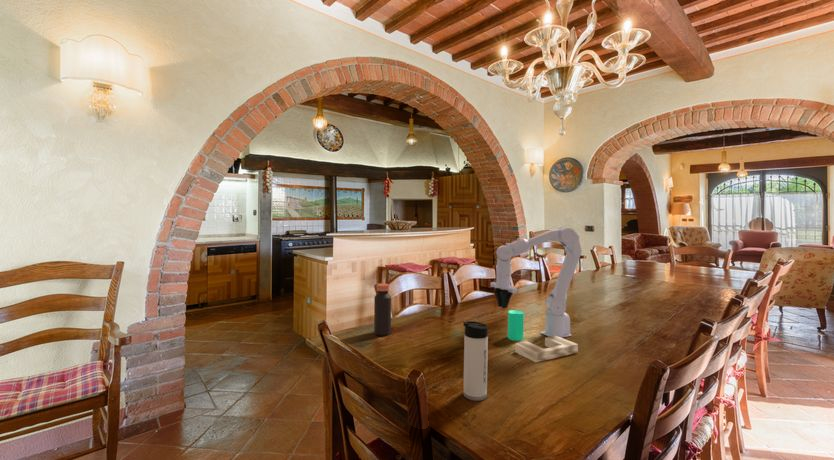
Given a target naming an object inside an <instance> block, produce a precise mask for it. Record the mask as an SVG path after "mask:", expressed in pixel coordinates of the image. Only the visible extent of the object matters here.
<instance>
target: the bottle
mask: <svg viewBox="0 0 834 460" xmlns="http://www.w3.org/2000/svg"><path fill="white" fill-rule="evenodd" d="M389 290H390V285H389V284H388V283H377V284H376V295H375V296H374V299H373V300H374V307H373V308H374V312H373V313H374V315H373V317H374V320H373V321H374V322H373V323H374V324H373V325H374V327H373V329H374V330H373V331H374V332H373V333H374V335H376V336H378V337H379V336H380V337H382V336H384V337H385V336H389V335H390V334H391V332H392V327H391V326H392V296H391V295H390V293H389Z"/></svg>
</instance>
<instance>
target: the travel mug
mask: <svg viewBox="0 0 834 460" xmlns="http://www.w3.org/2000/svg"><path fill="white" fill-rule="evenodd" d="M462 325H463V327H464V334H463V335H464V336H463V337H464V339H463V340H464V341H463V342H464V343H463V344H464V345H463V347H464V349H463V396H464V397H465V398H466V399H468V400H470V401H475V402H477V401H478V402H479V401H483V400H485V399H486V398H487V396H488V393H487V392H488V355H489V354H488V353H489V351H488V350H489V347H488V346H489V345H488V344H489V333H488V332H489V327H488V326H487V325H486V324H484V323H483V322H479V321H472V320H468V321H463V324H462Z"/></svg>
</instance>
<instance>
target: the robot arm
mask: <svg viewBox="0 0 834 460" xmlns="http://www.w3.org/2000/svg"><path fill="white" fill-rule="evenodd" d="M550 241H552V242H559V243H560V244H561V245H562V247H563V248H564V249H565V251H566V254H565V257H564V259H563V262H562V263H561V268H560V270H559V273H558V275H557V278H556V281H555V284H554V287H553V289H551V291H550V294H549V295H548V296H547V297H546V298H545V300H544V302H545V304H544V305H545V306H546V307H547V309H546V310H545V327H544V330H542V331H540V332H539V333H540V334H542V335H545V336H547V337H551V336H558V337H561V338H563V339H564V338H567V337H572V336H573V335H572V334H571V318H570V316H569V314H568V313H566V311H567V301H568V299H567V298H568V295H567V293H568V291H569V288H570V285H571V283H572V280H573V277H574V274H575V271H576V269H577V266H578V263H579V260H580V258H581V254H582V247H581V242H580V235H578V232H576V231H575V230H574V229H573V228H571V227H566V226H565V227H564V226H561V227H559V228H554V229H551V230H548V231H545V232H542V233H540V234H538V235H536V236H533V237H531V238H528V239H526V238H525V237H524V238H523V237H522V238H520V237H518V238H516V240H514V241H512V242H510V243H509V242H506V243H505V245H500V246H499V247H498V248H497V249H496V252H495V253H496V256H497V257H496V258H497V259H496V281H491V282H490V288H495V289H493V293H494V295H495V297H496V301H497V306H498V307H499V308H500V307H502V309H508V306H509V303H510V300H511V297H512V296H513V295H514V294H518V288H517V287H514V286H513V285H511V278H512V276H511V273H512V270H511V269H512V264H511V259H512V257H517V256H519V255H522V254H524V253H528V252H529V251H530V249H531V248H532V247H534V246H537V245H541V244H543V243H547V242H550Z"/></svg>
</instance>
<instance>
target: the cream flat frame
mask: <svg viewBox="0 0 834 460" xmlns="http://www.w3.org/2000/svg"><path fill="white" fill-rule="evenodd" d="M544 346H545V347H546V348H542V347H540V346H538V345H536V344H533V342H531V341H530V342H529V341H521V342H517V343H514V353H516V354H519V355H520V356H522V357H525V358H526V359H528V360H530V361H532V362H534V363H539V362H543V361H548V360H552V359H555V358H556V359H557V358H560V357H565V356H568V355H574V354H578V353H579V350H578V347H579V344H578V343H576V342H573V341H570V340H568V339H565V338H564V337H563V338H561V337H558V336H551V337H549V336H547V337H544Z"/></svg>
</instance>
